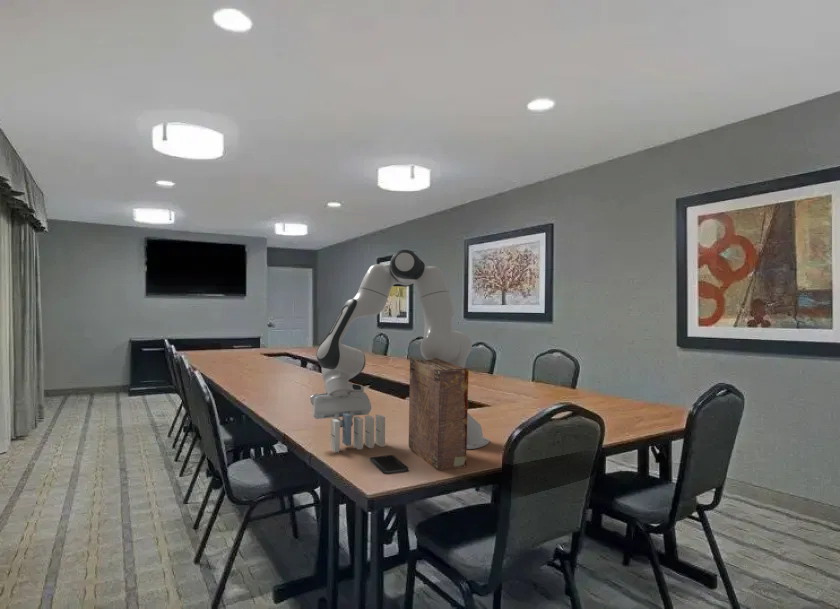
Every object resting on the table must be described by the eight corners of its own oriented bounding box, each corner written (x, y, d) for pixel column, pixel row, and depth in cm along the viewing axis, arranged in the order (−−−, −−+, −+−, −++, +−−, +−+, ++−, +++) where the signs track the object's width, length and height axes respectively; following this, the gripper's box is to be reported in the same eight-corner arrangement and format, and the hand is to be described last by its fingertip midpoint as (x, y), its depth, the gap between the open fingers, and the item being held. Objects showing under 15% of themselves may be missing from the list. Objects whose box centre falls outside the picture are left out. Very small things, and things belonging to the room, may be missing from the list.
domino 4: (369, 444, 177) (369, 415, 177) (374, 447, 172) (374, 418, 173) (364, 444, 176) (364, 415, 176) (369, 448, 172) (369, 418, 172)
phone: (384, 471, 145) (369, 457, 159) (384, 475, 145) (369, 461, 159) (409, 468, 148) (392, 454, 162) (409, 472, 148) (392, 458, 162)
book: (408, 446, 172) (409, 358, 171) (433, 444, 175) (435, 357, 174) (438, 472, 148) (440, 370, 147) (466, 469, 152) (468, 369, 151)
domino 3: (358, 445, 175) (358, 416, 175) (362, 449, 171) (363, 419, 171) (353, 445, 175) (353, 416, 175) (358, 449, 170) (358, 419, 170)
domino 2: (347, 441, 174) (347, 412, 174) (351, 445, 169) (351, 415, 169) (342, 442, 173) (342, 412, 173) (346, 445, 169) (346, 415, 169)
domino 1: (335, 448, 172) (335, 418, 172) (339, 451, 167) (339, 421, 167) (330, 448, 171) (331, 418, 171) (334, 452, 167) (335, 421, 167)
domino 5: (379, 442, 179) (380, 414, 179) (385, 446, 174) (385, 417, 174) (375, 443, 178) (375, 414, 178) (380, 446, 173) (380, 417, 174)
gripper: (310, 389, 175) (317, 423, 166) (367, 385, 183) (376, 418, 174) (308, 399, 179) (314, 434, 170) (363, 396, 187) (372, 428, 178)
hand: (346, 425), depth 172 cm, fingers closed on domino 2, 2 cm apart
